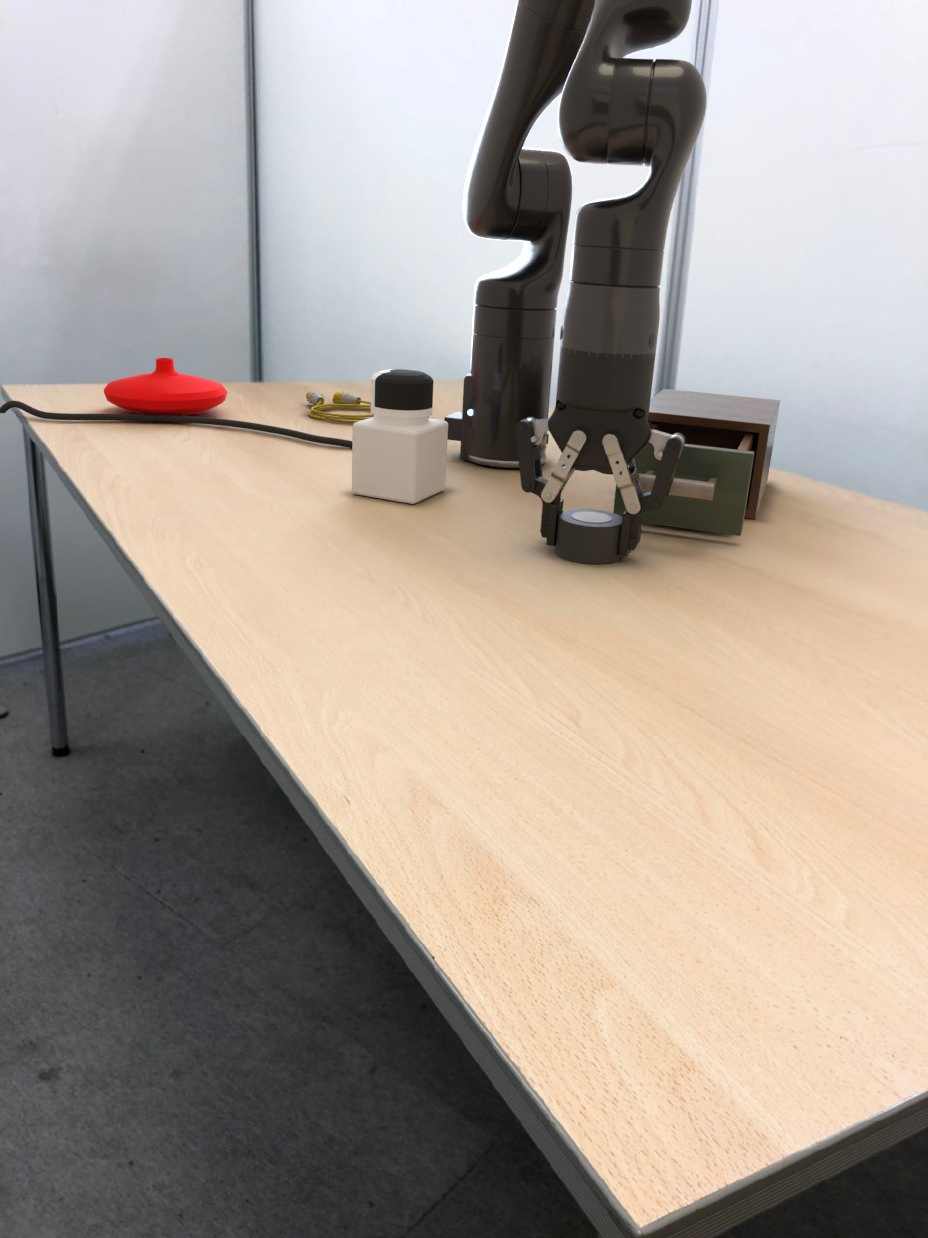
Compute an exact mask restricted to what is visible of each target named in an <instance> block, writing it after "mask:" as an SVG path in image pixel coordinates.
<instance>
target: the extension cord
mask: <svg viewBox="0 0 928 1238" xmlns="http://www.w3.org/2000/svg"><path fill="white" fill-rule="evenodd" d="M324 397H325V396H324V395H323V393H320V392H317V391H313V390H310V391H309V390H308V392H306V394H305V399H306V402H308V403H309V404H311V405H314V406H311V407H310V410H309V411H308V416H309V417H311V418H314V419H317V420H321V421H326V422H333V423H334V422H335V423H344V424H354V423H355V422H359V421H362V420H366V419H369V418H373V417H374V414H373V413H371V414H342V413H331V412H326V411H327V410H328V411H329V410H357V411H360V410H361V411H369V412H371V401H367V400H362V398H361V397H360V396H358V395H355V394H352V393H350V392H345V391H342V392H341V391H336V392H334V394H333V397H332V403H325V398H324Z"/></svg>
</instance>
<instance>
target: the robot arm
mask: <svg viewBox="0 0 928 1238" xmlns="http://www.w3.org/2000/svg"><path fill="white" fill-rule="evenodd" d="M692 4H693V0H516V4H515V8H514V14H513V17H512V22H511V26H510V31H509V35H508V39H507V44H506V46H505V51H504V56H503V59H502V64H501V67H500V71H499V74H498V77H497V80H496V81H497V82H496V84H495V88H494V91H493V93H492V97H491V100H490V103H489V106H488V108H487V112H486V114H485V117H484V120H483V123H482V126H481V128H480V132H479V135H478V137H477V140H476V143H475V146H474V149H473V153H472V155H471V159H470V162H469V166H468V169H467V172H466V177H465V181H464V188H463V195H462V213H463V221H464V224H465V226H466V228H467V230H468V231H469V232H470V234H472V235H473V236H475V237H477V238H481V239H485V240H493V241H509V242H510V241H512V242H524V243H523V248H522V251H521V253H520V255H519V256H518V257H517V259H516V258H515V260H514V261H513V262H511V263H510V264H508V265H506V266H504V267H502V268H501V269H498V270H496V271H493V272H490V273H487V274H484V275H482V276H479V278H477V280H476V282H475V284H474V291H473V311H472V329H471V331H472V333H471V348H470V349H471V351H470V373H468V374H465V375H464V378H463V389H462V408H461V409H462V411H456V412H453V413H451V414H449V415H446V416H444V420H443V421H447V423H448V440H447V441H456V442H460V451H459V460H461V461H468V462H472V463H474V464H477V465H481V466H486V467H493V468H494V467H495V468H502V469H519V477H520V486H521V490H522V491H523V492H524V493H527V494H529V493H531V494H533V495H535V496H536V497H539V499H540V500H541V503H542V506H541V516H540V530H539V532H540V535H541V538H543V539H546V541H545V542H546V545H547V546H551V547H556V536H557V524H558V515H559V514H560V513H561V512H563V511H564V501H565V500H564V498H562V493H563V491H564V489H565V488H566V485H567V484H568V482H569V480H570V479H571V477H572V475H573V474H574V472H575V471H580V472H588V471H589V472H590V471H595V472H597V473H600V474H603V475H611V476H613V478H614V481H615V485H616V484H617V487H618V488H619V489H620V492H621V495H622V498H623V501H624V504H625V507H626V511H625V512H624V513H623V517H622V527H621V536H620V545H619V555H620V556H621V557H628V556H629V555H630V554H631V551H635V550H636V548H638V545H639V543H640V542H641V536H642V528H643V527H642V526H643V523H642V520H643V512H644V511H646V510H650V509H660V508H661V507H662V506H663V504H664V503H665V501H666V500H667V498H668V495H669V492H670V489H671V486H672V482H673V479H674V476H675V473H676V470H677V467H678V463H679V460H680V457H681V454H682V451H683V447H684V444H685V437H684V435H683V434H681V433H675V434H673V435H671V434H668V433H664V432H661V431H658V430H654V429H653V426H652V423H651V421H650V417H649V408H650V399H652V398H651V397H652V389H653V381H654V380H653V379H654V372H655V362H656V355H657V345H658V337H659V329H660V328H659V327H660V317H661V315H660V313H661V308H660V307H661V304H660V294H661V293H660V292H661V287H660V286H661V282H662V275H663V274H662V273H663V265H664V257H665V256H664V255H665V248H666V240H667V234H668V227H669V224H670V223H669V222H670V218H671V214H672V209H673V206H674V203H675V199H676V196H677V193H678V190H679V188H680V185H681V181H682V179H683V176H684V173H685V170H686V168H687V166H688V163H689V161H690V158H691V156H692V154H693V151H694V149H695V146H696V144H697V140H698V138H699V136H700V132H701V130H702V127H703V124H704V120H705V118H706V111H707V102H708V100H707V96H708V95H707V89H706V84H705V81H704V79H703V77H702V74H701V73H700V71H699V70H698V68H697V67H696V66H695V65H694V64H693V63H691V62H689V61H687V60H682V59H673V58H655V59H654V58H634V57H628V56H630V55H632V54H635V53H638V52H639V53H640V52H643V51H646V50H650V49H654V48H657V47H661V46H664V45H666V44H669V43H671V42H672V41H674V40H676V39H677V38H678V37H679V36H680V35H681V34H682V33H683V32H684V31H685V29H686V27H687V25H688V22H689V19H690V16H691V12H692ZM559 96H560V97H559ZM558 97H559V101H558V105H557V106H558V107H557V115H556V125H557V127H556V128H557V134H558V138H559V140H560V143H561V145H562V147H563V149H564V150H565V152H566V153H567V155H568V156H569V157H570V158H571V159H572V160H574V161H575V162H578V163H582V164H588V165H589V164H590V165H610V166H612V165H613V166H636V167H637V166H639V167H642V166H644V167H648V168H649V170H648V174H647V176H646V178H645V180H644V181H643V183H642V184H641V185H640V186H639V187H638V188H637V189H636V190H634V191H632V192H630V193H627V194H624V195H620V196H615V197H609V198H602V199H596V200H592V201H588V202H585V203H584V204H582V205H581V206H580V207H579V208H578V209H577V211H576V213H575V216H574V221H573V229H572V241H571V242H572V243H571V244H572V245H571V254H570V268H569V278H568V280H569V281H568V287H567V293H566V297H565V300H564V301H565V302H564V307H563V311H562V322H561V326H560V332H559V340H560V348H559V357H558V358H559V359H558V372H557V383H556V384H557V385H556V396H555V397H556V398H555V406H554V409H553V411H552V413H551V415H550V416H549V414H550V400H551V388H552V387H551V386H552V375H553V374H552V373H553V363H554V362H553V361H554V349H555V335H556V323H557V311H558V309H557V308H558V301H559V293H560V288H561V285H562V281H563V277H564V266H565V256H566V250H567V242H568V235H569V227H570V221H571V220H570V219H571V213H572V203H573V184H574V183H573V172H572V168H571V165H570V161H569V160H568V158H567V156H566V155H565V154H564V153H563V152H561V151H559V150H554V149H546V148H535V147H524V145H525V143H526V141H527V139H528V137H529V134H530V132H531V131H532V129H533V127H534V126H535V125H536V123H537V121H538V120H539V119H540V117H541V116H542V115H543V114H544V112H545V111H546V110H547V109H548V107H550V106H551V104H552V103H553V102H554V101H555V100H556V99H557V98H558ZM13 408H16V409H19V410H21V411H23V412H25V413H27V414H29V415H31V416H33V417H35V418H36V417H37V418H39V419H44V420H52V421H53V420H54V421H117V422H118V421H119V422H121V421H122V422H163V423H183V424H198V425H211V426H221V427H230V428H239V429H245V430H246V429H247V430H252V431H257V432H258V431H259V432H263V433H270V434H276V435H281V436H287V437H289V438H295V439H299V440H302V441H307V442H311V443H316V444H323V445H330V446H338V447H343V448H348V449H352V440H349V439H343V438H338V437H337V438H336V437H329V436H322V435H316V434H312V433H308V432H303V431H299V430H295V429H291V428H284V427H280V426H273V425H268V424H263V423H256V422H250V421H243V420H235V419H226V418H217V417H207V416H205V417H204V416H192V415H186V416H174V415H146V414H137V413H63V412H49V411H43V410H40V409H37V408H34V407H32V406H30V405H28V404H27V403H24V402H22V401H19V400H9V401H6V402H5V403H3V404H2V405H1V406H0V414H6V413H7V412H8V411H9V410H10V409H13ZM548 432H549V433H550V434H549V433H548ZM550 435H551V436H552V438H553V440H554V443H556V445H557V447H558V449H559V451H560V452H561V455H560V456H559V459H557V462H556V464H555V466H554V467H553V469H552V471H551V473H550V477H549V478H548V479H547V478H545V477H543V469H542V465H544V464H546V458H547V454H546V450H547V445H549V438H550V437H549V436H550ZM648 442H650V443H651V444H652V445H653V446H654V456H655V458H656V459H658V460H660V461H661V462H660V465H659V468H658V471H657V475H656V478H655V481H654V484H653V488H652V491H650V492H646V493H643V490H642V486H641V483H640V480H639V472H638V469H637V466H636V463H635V459H634V457H635V456H636V455H637V454H638V453H639V452H640V451H641V450H642V448H643V447H644V446H645V445H646V444H647V443H648ZM628 465H629V466H628ZM621 472H622V473H621Z"/></svg>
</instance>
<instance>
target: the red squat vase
mask: <svg viewBox="0 0 928 1238" xmlns="http://www.w3.org/2000/svg"><path fill="white" fill-rule="evenodd" d="M103 394H104V397H105V399H106V401H107V402H109V403H110V404H112V405H114V406H116V407H118V408H120V409H122V410H124V411H126V412H129V413H131V414H146V415H174V416H192V415H197V414H203V413H206V412H208V411H210V410H213V409H214V408H216V407H218V406H219V405H222V404H223V403H224V402H226V398H227V395H228V390H227V388H226V387H225V386H224V385H223V384H222V383H221V382H218V381H216V380H212V379H208V378H203V377H199V376H194V375H191V374H185V373H180V372H178V371H177V370H175V363H174V358H172V357H156V358H155V370H154V371H152V372H149V373H143V374H137V375H133V376H128V377H123V378H120V379H116V380H112V381H110V382H108V383H107V384H106V385H105V387H104V388H103Z"/></svg>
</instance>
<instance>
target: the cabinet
mask: <svg viewBox="0 0 928 1238" xmlns="http://www.w3.org/2000/svg"><path fill="white" fill-rule="evenodd" d="M780 406H781V399H780V400H779V399H773V398H772V399H771V398H761V397H751V396H742V395H741V396H740V395H731V394H723V393H722V394H720V393H712V392H711V393H710V392H709V393H708V392H700V391H690V390H680V389H672V388H671V389H669V388H663V389H661V390H660V391H659V392H657V394H655V395H654V396H653V397H652V398H651V399H650V408H649V417H650V421H651V422H652V421H653V422H662V423H672V424H681V425H690V426H699V427H708V428H718V429H727V430H736V431H745V432H754V433H756V439H755V446H754V458H753V465H752V471H751V478H750V484H749V491H748V497H747V504H746V510H745V516H744V519H750V520H756V518H757V515H758V513H759V509H760V506H761V503H762V500H763V496H764V494H765V491H766V487H767V484H768V480H769V474H770V467H771V462H772V461H771V460H772V454H773V448H774V444H775V443H774V442H775V436H776V430H777V425H778V418H779V411H780Z"/></svg>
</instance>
